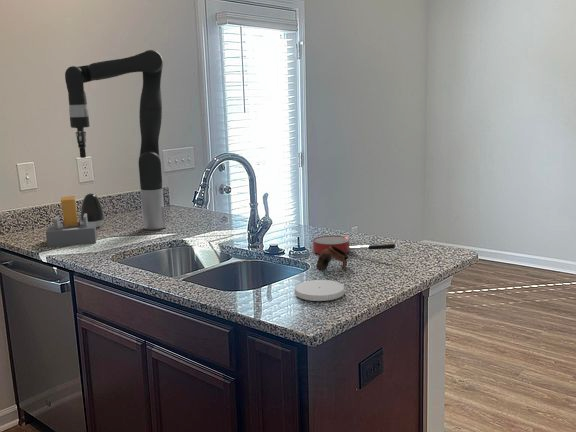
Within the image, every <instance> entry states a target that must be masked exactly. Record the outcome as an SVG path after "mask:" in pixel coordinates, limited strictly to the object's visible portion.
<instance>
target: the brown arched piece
mask: <svg viewBox="0 0 576 432" xmlns="http://www.w3.org/2000/svg"><path fill="white" fill-rule="evenodd" d="M331 255H332V256H331ZM332 258H333V259H336V260H338V261H339V262H342V266H341V270H343V269H344V270H345V269H346V267H347V266H348V258H349V255H348V254H346V253H344V252H343V251H342V250H340V249H338V248H336V247H334V246H329V248H328V249H325V250H323V251H322V252H321V254H320V255H319V256H318V259H317V262H316V265H315V266H316V267H315V268H316V269H317V271H318V270H319V271H320V270H321V269H322V270H327V269H328V267H329V264H330V262H331V261H332Z"/></svg>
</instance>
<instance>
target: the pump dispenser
mask: <svg viewBox="0 0 576 432" xmlns="http://www.w3.org/2000/svg"><path fill="white" fill-rule="evenodd" d="M104 212H105V211H104V210H103V206H102V204H101V201H100V199H99V197H98V196H97V194H96V193H88V194H86V195H85V196H84V197H83V200H82V203H81V208H80V222H81V223H84V220H83V216H84V214H86V213H87V220H88V222H96V229H98V228H100V227H101V226H103V224H104V221H105V217H106V216H105V213H104Z"/></svg>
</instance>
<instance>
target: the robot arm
mask: <svg viewBox="0 0 576 432" xmlns="http://www.w3.org/2000/svg"><path fill="white" fill-rule="evenodd" d="M163 66H164V59H163V57H162V54H160V53H159V52H158V51H156V50H154V49H148V50H145V51H143V52H141V53H138V54H135V55H132V56H128V57H124V58H118V59H111V60H110V59H109V60H104V61H98V62H92V63H90V64H87V65H82V66H75V65H72V66H71V65H70V66H69V67H68V68H67V69H66V70H65V72H64V80H65V84H66V85H65V86H66V90H67V93H68V95H67V96H68V115H69V123H70V128H72V129H76V130H77V131H76V132H75V138H76V144H77V147H78V149H79V156H80V157H79V158H81V159H84V158H85V159H86V157H87V154H86V146H87V145H86V143H87V138H86V137H87V132H86V131H85V130H84V128H89V127H90V116H89V115H90V114H89V109H88V105H87V104H88V101H87V93H86V92H85V86H84V84H85V83H89V82H93V81H101V80H106V79H111V78H115V77H119V76H123V75H126V74H131V73H141V72H142V88H141V94H140V100H139V101H140V102H139V116H138V117H139V118H138V119H139V130H140V141H141V142H140V152H139V156H138V174H139V185H140V186H139V187H140V199H141V200H140V201H141V209H142V213H141V214H142V224H143V229H145V230H160V229H161V230H162V229H164V228H166V227H167V225H166V215H165V205H164V193H163V190H164V189H163V178H162V177H163V174H162V173H163V172H162V162H161V158H160V149H159V144H160V143H159V139H160V133H161V126H162V117H163V115H162V114H163V104H162V100H163V99H162V91H161V84H162V83H161V82H162V81H161V80H162V72H163Z"/></svg>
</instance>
